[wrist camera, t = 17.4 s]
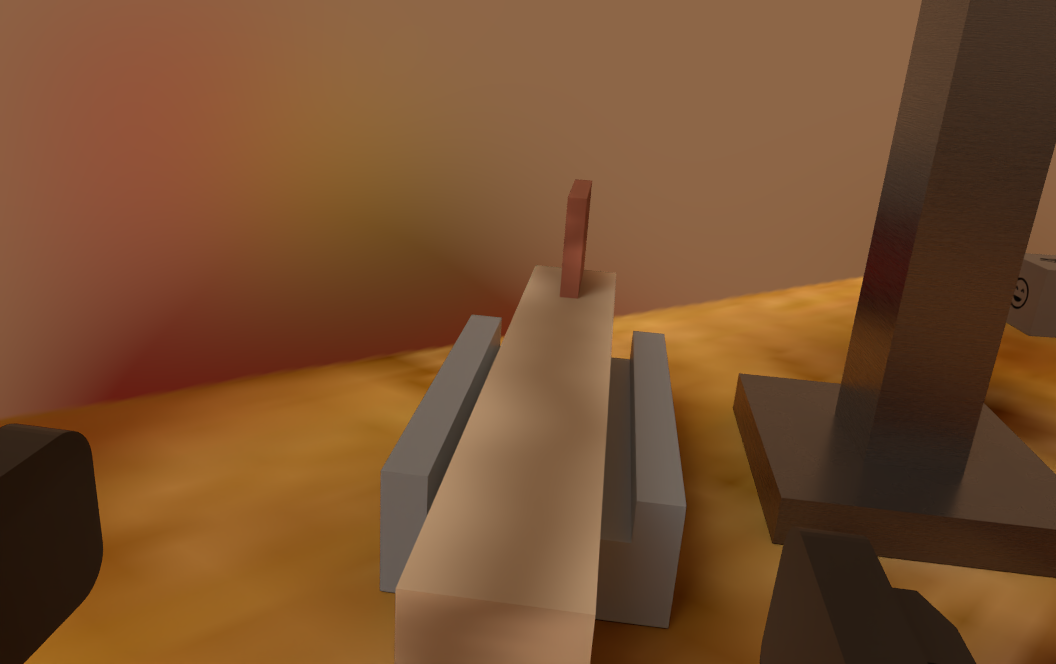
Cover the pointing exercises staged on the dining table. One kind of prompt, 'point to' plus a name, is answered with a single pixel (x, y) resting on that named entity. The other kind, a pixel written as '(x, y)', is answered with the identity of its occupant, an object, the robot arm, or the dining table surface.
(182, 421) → the dining table surface
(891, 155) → the pedestal
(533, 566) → the tan wooden block
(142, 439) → the dining table surface
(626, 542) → the cradle
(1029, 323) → the dice cube
